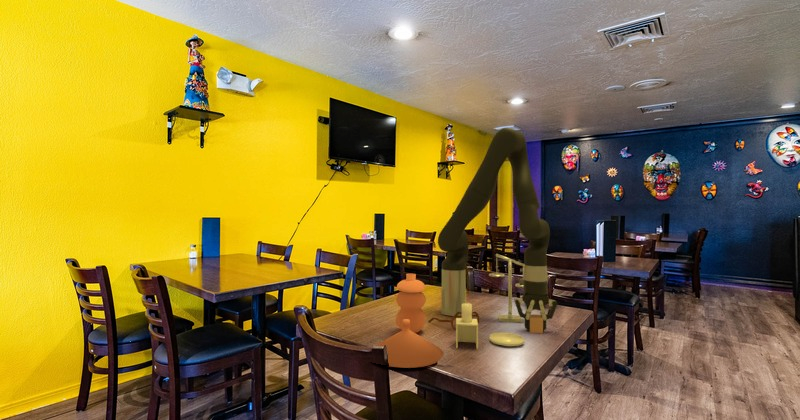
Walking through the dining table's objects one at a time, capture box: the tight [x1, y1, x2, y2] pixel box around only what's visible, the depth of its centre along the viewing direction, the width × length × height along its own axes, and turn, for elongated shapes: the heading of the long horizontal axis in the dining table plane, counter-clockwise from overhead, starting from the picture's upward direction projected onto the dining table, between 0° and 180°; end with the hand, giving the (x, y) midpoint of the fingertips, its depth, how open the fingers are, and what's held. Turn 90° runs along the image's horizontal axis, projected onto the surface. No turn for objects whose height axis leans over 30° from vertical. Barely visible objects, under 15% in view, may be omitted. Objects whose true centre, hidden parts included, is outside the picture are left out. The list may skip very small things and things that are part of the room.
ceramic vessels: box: [374, 273, 444, 369], centre depth 113 cm, size 35×21×19 cm, turn 174°
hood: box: [455, 302, 479, 350], centre depth 112 cm, size 6×6×12 cm
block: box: [528, 313, 544, 334], centre depth 126 cm, size 4×4×5 cm
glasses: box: [427, 311, 480, 331], centre depth 135 cm, size 13×13×5 cm
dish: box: [489, 331, 525, 347], centre depth 115 cm, size 10×10×2 cm
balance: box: [488, 253, 524, 323], centre depth 139 cm, size 15×6×24 cm, turn 82°
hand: (535, 330), depth 126 cm, fingers closed on block, 4 cm apart
